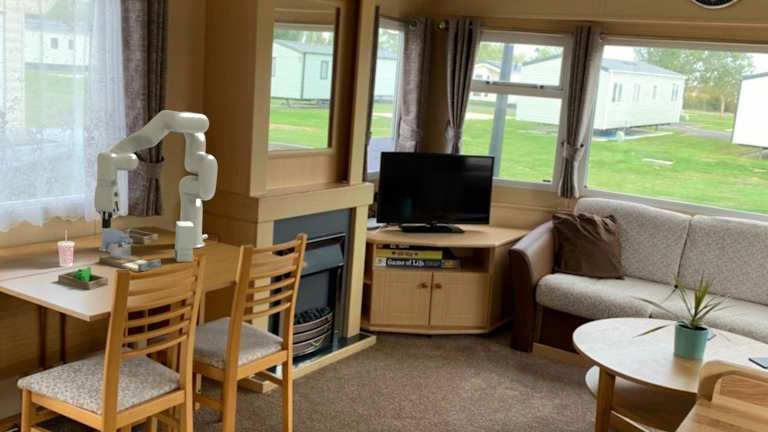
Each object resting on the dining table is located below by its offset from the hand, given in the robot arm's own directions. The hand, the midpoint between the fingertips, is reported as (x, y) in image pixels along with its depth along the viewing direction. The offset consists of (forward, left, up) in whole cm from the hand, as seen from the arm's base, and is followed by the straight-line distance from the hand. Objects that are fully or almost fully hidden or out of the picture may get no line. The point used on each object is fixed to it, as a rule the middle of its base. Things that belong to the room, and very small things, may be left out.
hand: (106, 227), depth 307 cm
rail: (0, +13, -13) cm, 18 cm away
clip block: (0, +8, -11) cm, 14 cm away
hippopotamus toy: (-14, -9, -13) cm, 21 cm away
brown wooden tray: (+29, +19, -13) cm, 37 cm away
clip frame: (-34, -15, -13) cm, 39 cm away
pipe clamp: (+29, +19, -13) cm, 37 cm away
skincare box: (-21, +23, -13) cm, 33 cm away
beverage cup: (+16, -4, -13) cm, 22 cm away
